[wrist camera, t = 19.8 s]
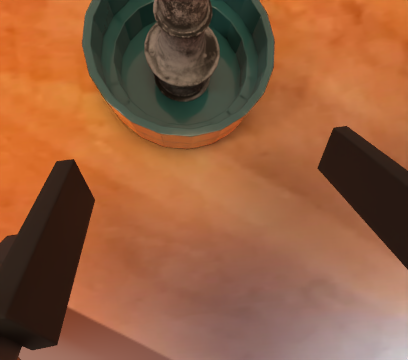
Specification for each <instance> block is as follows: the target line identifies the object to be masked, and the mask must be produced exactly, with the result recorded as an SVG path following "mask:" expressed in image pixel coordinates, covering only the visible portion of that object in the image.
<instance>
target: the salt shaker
mask: <svg viewBox="0 0 408 360" xmlns="http://www.w3.org/2000/svg"><path fill="white" fill-rule="evenodd" d="M153 12H154V16H155V20H156V21H157V23H156V24H154V25H153V26H152V28H151V29H150V31H149V32H148V34H147V37H146V40H145V52H144V53H145V56H146V60H147V63H148V65H149V67H150V68H151V70H152V72H153V73H154V79H155V83H156V85H157V87H158V88H159V90H160V91H161V92H162V93H163V94H164V95H165V96H167V97H168V98H170V99H172V100H175V101H179V102H187V101H192V100H194V99H196V98H198V97H200V96H201V95H202V94H203V93H204V92H205V91H206V89H207V87H208V85H209V81H210V76H211V75H212V74H213V72H214V71H215V69H216V67H217V65H218V61H219V57H220V55H219V45H218V41H217V38H216V36H215V35H214V33H213V31H212V30H211V29H210V28H209V27H208V26H209V24H210V22H211V18H212V5H211V2H210V0H155V1H154V6H153Z"/></svg>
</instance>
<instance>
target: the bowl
mask: <svg viewBox="0 0 408 360" xmlns="http://www.w3.org/2000/svg"><path fill="white" fill-rule="evenodd" d="M154 1H155V0H92V1H91V3H90V5H89V7H88V9H87V11H86V14H85V20H84V29H83V39H82V47H83V51H84V55H85V59H86V64H87V68H88V72H89V74H90V77H91V78H92V80H93V81H94V83H95V85H96V86H97V88H98V89H99V91H100V93H101V94H102V96H103V97H104V99H105V100H106V102H107V103H108V104H109V105H110V107H111V108H112V109H113V111H114V112H115V113H116V114H117V116H118V117H119V118H120V119H121V120H122V122H123V123H125V124H126V125H127V126H128V127H129V128H131V129H132V130H133V131H134V132H135V133H137V134H138V135H139V136H140V137H142V138H144V139H146V140H149V141H151V142H154V143H156V144H159V145H161V146H164V147H172V148H184V149H191V148H196V147H200V146H204V145H209V144H212V143H214V142H216V141H218V140H219V139H221V138H223V137H224V136H226V135H228V134H229V133H231V132H232V131H233V130H234V129H235V128H236V127H237V126H238V124H239V123H240V122H241V121H242V120H243V118H244V117H245V116H246V115H247V114H248V112H249V111H250V110H251V109H252V108H253V106H254V105H255V104H256V103H257V102H258V100H259V99H260V98H261V97H262V95H263V94H264V92H265V89H266V87H267V84H268V82H269V79H270V76H271V74H272V71H273V68H274V45H275V41H274V36H273V32H272V29H271V25H270V21H269V18H268V14H267V12H266V11H265V9H264V7H263V6H262V4H261V3H260V1H259V0H210V2H211V5H212V18H211V22H210V24H209V26H208V27H209V28H210V29H211V30H212V31H213V33H214V35H215V36H216V38H217V41H218V45H219V55H220V57H219V61H218V65H217V67H216V69H215V71H214V72H213V74H212V75H211V76H210V81H209V85H208V87H207V89H206V91H205V92H204V93H203V94H202V95H201V96H200V97H198V98H196V99H194V100H192V101H187V102H179V101H175V100H172V99H170V98H168V97H167V96H165V95H164V94H163V93H162V92H161V91H160V90H159V88H158V87H157V85H156V83H155V79H154V73H153V72H152V70H151V68H150V67H149V65H148V63H147V60H146V56H145V53H144V52H145V40H146V37H147V34H148V32H149V31H150V29H151V28H152V26H153V25H154V24H156V23H157V21H156V20H155V16H154V12H153V6H154Z"/></svg>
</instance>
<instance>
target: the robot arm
mask: <svg viewBox="0 0 408 360" xmlns="http://www.w3.org/2000/svg"><path fill="white" fill-rule="evenodd" d="M318 169H319V171H320V172H321V173H322V174H323V175H324V176H325V177H326V178H327V179H328V181H329V182H330V183H331V184H332V185H333V186H334V187H335V188H336V190H337V191H338V192H339V193H340V194H341V195H342V196H343V197H344V199H345V200H346V201H347V202H348V203H349V204H350V205H351V206H352V207H353V209H354V210H355V211H356V212H357V213H358V214H359V215H360V216H361V218H362V219H363V220H364V221H365V222H366V223H367V224H368V225H369V227H370V228H371V229H372V230H373V231H374V232H375V233H376V234H377V236H378V237H379V238H380V239H381V240H382V241H383V242H384V243H385V244H386V246H387V247H388V248H389V249H390V250H391V251H392V252H393V253H394V255H395V256H396V257H397V258H398V259H399V260H400V261H401V262H402V264H403V265H404V266H405V267H406V268H407V269H408V171H407V170H406V169H405V168H403V167H402V166H400V165H399V164H398V163H396V162H395V161H394V160H392V159H391V158H390V157H388V156H387V155H385V154H384V153H383V152H381V151H380V150H379V149H377V148H376V147H375V146H373V145H372V144H371V143H369V142H368V141H366V140H365V139H364V138H362V137H361V136H360V135H358V134H357V133H356V132H354V131H353V130H351V129H350V128H349V127H347V126H343V127H335V128H333V130H332V133H331V135H330V138H329V140H328V143H327V145H326V148H325V151H324V153H323V156H322V158H321V161H320V163H319V166H318ZM94 202H95V199H94V197H93V195H92V193H91V191H90V189H89V187H88V185H87V184H86V182H85V180H84V178H83V176H82V174H81V172H80V170H79V168H78V166H77V164H76V162H75V160H74V159H72V160H64V161H56V163H55V165H54V167H53V169H52V171H51V173H50V175H49V176H48V178H47V180H46V182H45V184H44V186H43V188H42V190H41V191H40V193H39V195H38V197H37V199H36V201H35V203H34V205H33V206H32V208H31V210H30V212H29V214H28V216H27V218H26V220H25V222H24V223H23V225H22V227H21V229H20V231H19V233H18V234H17V235H11V236H7V237H6V238H5V239H4V240H3V241H2V242H1V243H0V360H21V359H20V358H19V357H18V356H19V353H20V350H21V347H22V346H23V347H26V348H28V349H30V350H36V349H41V348H46V347H51V346H55V345H57V344H58V340H59V336H60V332H61V328H62V324H63V321H64V317H65V313H66V309H67V305H68V301H69V298H70V294H71V290H72V286H73V282H74V278H75V275H76V271H77V267H78V263H79V259H80V255H81V252H82V248H83V244H84V240H85V236H86V232H87V229H88V225H89V221H90V217H91V213H92V210H93V206H94Z"/></svg>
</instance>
